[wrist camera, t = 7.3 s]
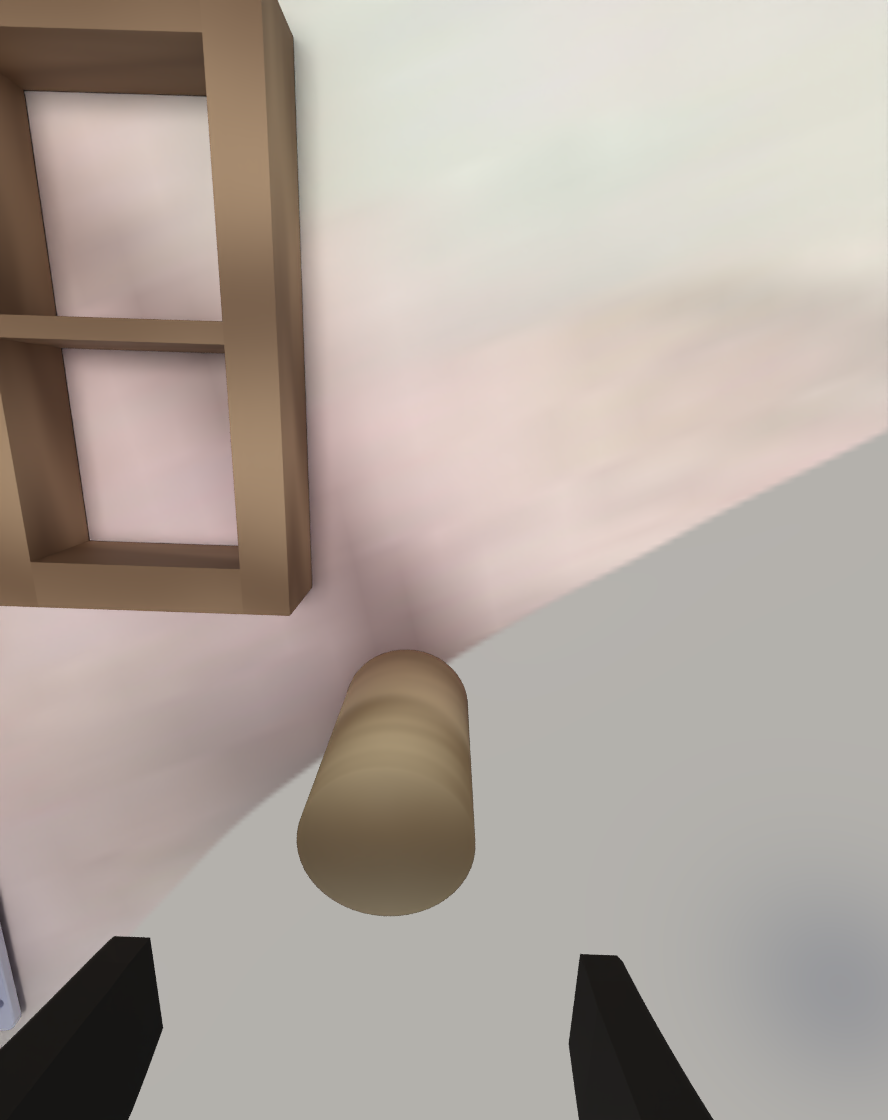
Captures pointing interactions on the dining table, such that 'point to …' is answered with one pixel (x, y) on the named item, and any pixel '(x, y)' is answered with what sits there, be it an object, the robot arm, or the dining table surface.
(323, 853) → the oak peg
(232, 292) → the socket board
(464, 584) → the dining table surface
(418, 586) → the dining table surface
